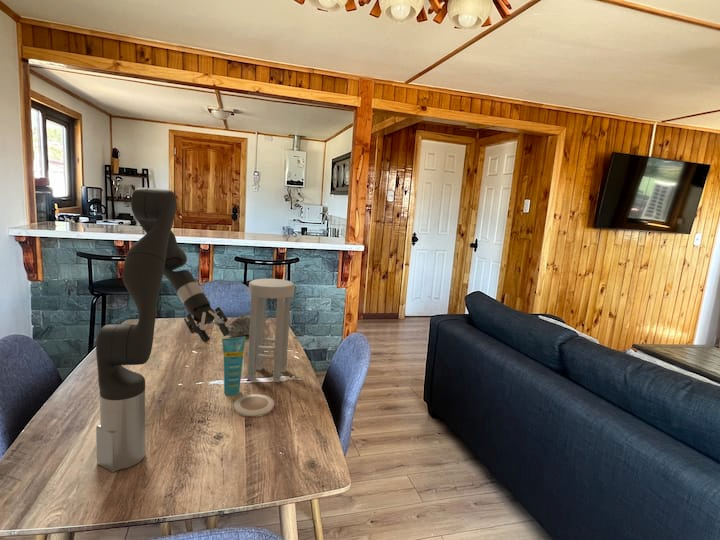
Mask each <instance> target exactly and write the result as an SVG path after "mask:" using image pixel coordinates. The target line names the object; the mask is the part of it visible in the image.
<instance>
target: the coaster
mask: <svg viewBox="0 0 720 540" xmlns="http://www.w3.org/2000/svg"><path fill="white" fill-rule="evenodd" d="M274 403H275V401H274V399H273V398H271V397H270V396H268V395H264V394H260V393H259V394H256V393H255V394H246V395H244V396H243V395H242V396H241V397H239V398H238V397H237V399H236V400H235V401H234V404H233V411H234V412H235V413H236V412H237V413H236V414H238V415H239V416H243V415H244V417H248V416H256V417H261V416H260V415H262V416H264V414H265V415H268V414H269V413H270V411H271V410H272V411H273V410H274V406H275V404H274ZM272 411H271V412H272Z"/></svg>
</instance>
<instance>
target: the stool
mask: <svg viewBox="0 0 720 540" xmlns="http://www.w3.org/2000/svg"><path fill="white" fill-rule="evenodd" d="M295 287H296V285H295V283H293V282H292V281H291V280H286V279H281V278H279V279H278V278H257V279H253V280H251V281H249V283H248V293H249V294H250V308H249V309H250V311H249V315H250V333H249V335H248V338H249V339H248V359H247V360H248V362H247V380H249V381H254V380H255V379H256V377H257V375H256V374H257V371H262V370H263V369H264V360H273V367H272V368H273V369H272V370H273V371H272V372H273V373H272V383H275V382H278V384H280V382H281V374H282V372H284V373H283V374H285V373H286V372H287V368H288V367H287V366H288V351H289V350H288V347H289V346H288V345H289V331H290V330H289V329H290V314H291V313H290V312H291V297H292V296H294V295H295ZM267 299H276V309H275V310H276V312H275V330H274V331H275V332H274V338H269V337H265V334H266V333H265V331H266V313H267V312H266V311H267V310H266V309H267ZM265 343H274V346H271V345H265ZM264 351H265V352H273V355H270V354H269V355H268V354H265V353H264ZM279 381H280V382H279Z"/></svg>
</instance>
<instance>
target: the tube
mask: <svg viewBox="0 0 720 540" xmlns="http://www.w3.org/2000/svg"><path fill="white" fill-rule="evenodd" d="M246 338H247V337H246V335H243V336H236V337H229V338H228V337H226V338H225V337H223V338H221V343H222V349H223V350H222V351H223V393H224V394H225V396H233V397H234V396H237V395H239V394H240V390H241V379H242V370H243V369H242V368H243V359H244V352H245V346H246V340H247V339H246Z"/></svg>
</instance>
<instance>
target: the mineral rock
mask: <svg viewBox="0 0 720 540" xmlns="http://www.w3.org/2000/svg"><path fill="white" fill-rule="evenodd" d="M226 327H227V329H228V330H229V334H228V335H227V336H228V337H229V336H230V337H243V336H246V335H247V336H249V333H250V314H249V315H246V314H245V313H243V314H241V315H239V316H238V317H237V318H236V319H234V320H232V321H231V322H230V323H229V324H228V325H226ZM227 336H226V337H227Z"/></svg>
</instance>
